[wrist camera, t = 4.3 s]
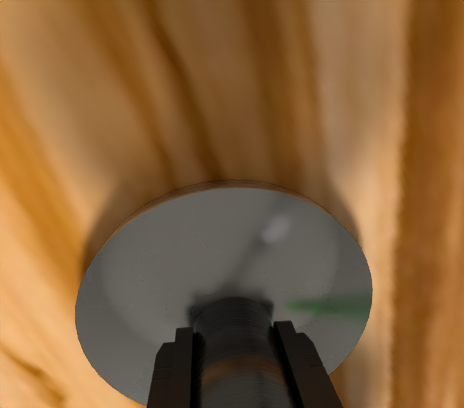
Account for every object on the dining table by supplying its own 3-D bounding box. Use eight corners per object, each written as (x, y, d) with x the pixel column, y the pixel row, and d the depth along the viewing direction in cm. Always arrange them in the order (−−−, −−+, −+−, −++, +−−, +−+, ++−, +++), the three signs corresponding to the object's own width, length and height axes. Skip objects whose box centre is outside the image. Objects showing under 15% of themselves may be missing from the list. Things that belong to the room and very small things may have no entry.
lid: (55, 181, 10) (-192, 314, 4) (387, 178, 11) (606, 269, 5) (111, 405, 15) (49, 614, 9) (333, 382, 16) (410, 548, 10)
